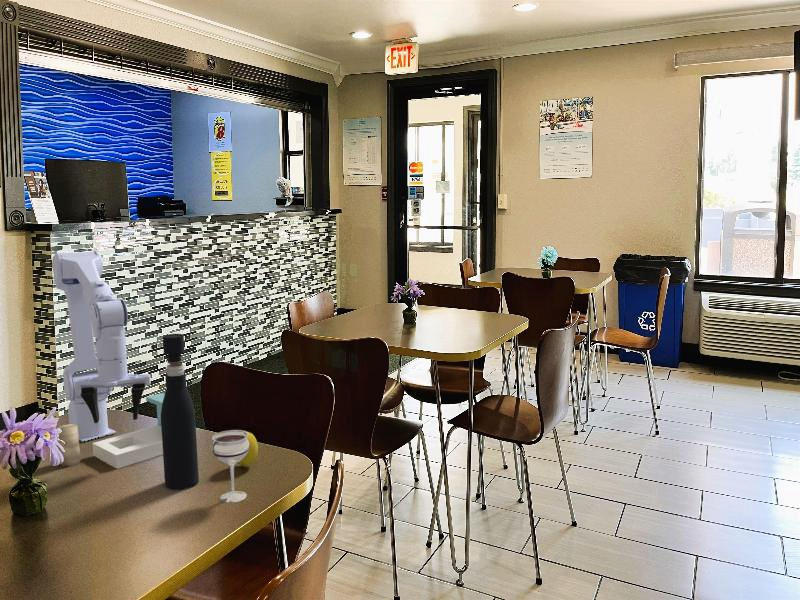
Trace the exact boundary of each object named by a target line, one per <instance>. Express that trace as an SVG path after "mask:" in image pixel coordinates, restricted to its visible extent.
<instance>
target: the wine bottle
mask: <svg viewBox="0 0 800 600" xmlns="http://www.w3.org/2000/svg"><path fill="white" fill-rule="evenodd" d="M162 345H163V346H162V347H163V354H165V355H167V365H166V369H165V370H166V374H165V393H164V394H165V395H164V399H163V402H162V409H161V429H162V445H163V455H162V456H163V457H162V459H163V471H164V473H163V474H164V475H163V476H164V486H165V487H166V488H167V489H168V490H173V491H180V490H181V491H182V490H187V489H190V488H192V487H195V486H197V484H199V481H200V477H199V461H198V459H199V457H198V443H197V441H198V440H197V423H196V410H195V406H194V402H193V399H192V397H191V394H190V391H189V389H188V387H187V374H186V373H185V369H184V368H185V366H184V364H183V363H182V361H183V359H182V354H183V353H184V352H186V351H185V350H186V349H185V336H184V334H182V333H169V334H166V335H162Z"/></svg>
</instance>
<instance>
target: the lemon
mask: <svg viewBox="0 0 800 600" xmlns="http://www.w3.org/2000/svg"><path fill="white" fill-rule="evenodd" d="M244 431H245V432H247V433H248V438H247V440H248V441H249V450H248V453H247V455H246V456H245V457H244V458H243V459H242V460H241V461H239V462H236V464H238V465H240V466H242V467H243V468H248V466H249V465H251V464H252V463H254V462H255V461H256V459H257V457H258V453H259V445H258V444H259V443H258V441H257V439H256V437H255V435H254V434H253V433H252V432H249V431H246V430H244Z"/></svg>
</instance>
